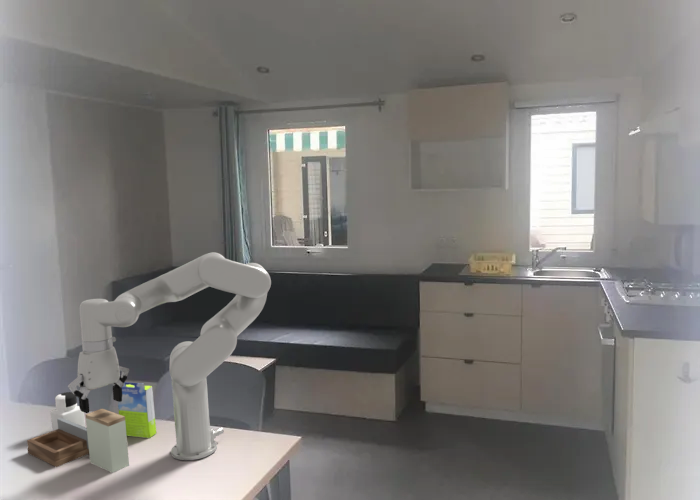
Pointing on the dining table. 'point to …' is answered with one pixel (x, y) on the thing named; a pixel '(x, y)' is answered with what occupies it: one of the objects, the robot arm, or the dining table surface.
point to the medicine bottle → (67, 410)
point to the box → (138, 410)
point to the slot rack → (60, 444)
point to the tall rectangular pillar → (107, 440)
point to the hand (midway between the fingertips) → (101, 406)
